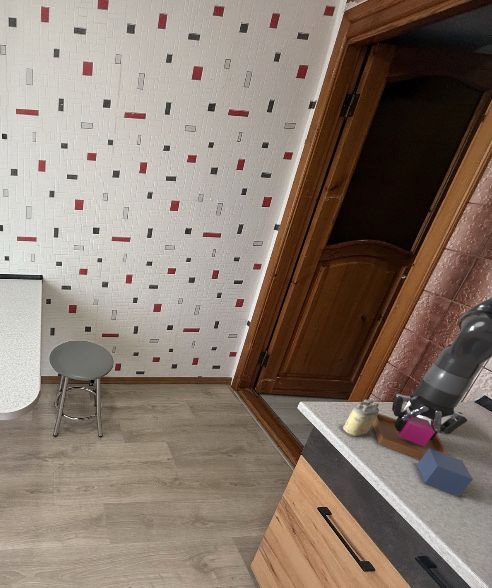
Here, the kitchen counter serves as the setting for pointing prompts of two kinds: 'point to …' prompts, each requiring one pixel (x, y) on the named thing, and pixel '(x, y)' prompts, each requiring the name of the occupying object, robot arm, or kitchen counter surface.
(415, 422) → the mulberry block
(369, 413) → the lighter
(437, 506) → the kitchen counter surface
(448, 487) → the slate block
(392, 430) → the tray
